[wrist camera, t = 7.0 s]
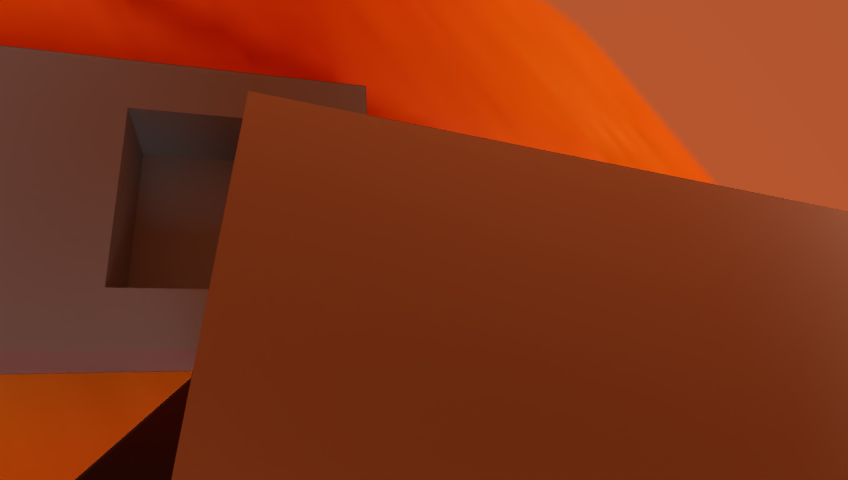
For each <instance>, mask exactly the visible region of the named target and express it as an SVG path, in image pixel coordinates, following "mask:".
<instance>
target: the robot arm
mask: <svg viewBox="0 0 848 480" xmlns="http://www.w3.org/2000/svg"><path fill="white" fill-rule="evenodd" d="M190 383H191V378H190V379H189V380H188V381H187V382H186V383H185V384H184V385H183V386H181V387H180V388H179V389H178V390H177V391H176V392H175V393H173V394H172V395H171V396H170V397H169V398H168V399H167V400H165V401H164V402H163V403H162V404H161V405H160V406H159V407H157V408H156V409H155V410H154V411H153V412H152V413H151V414H149V415H148V416H147V417H146V418H145V419H144V420H143V421H141V422H140V423H139V424H138V425H137V426H136V427H135V428H134V429H132V430H131V431H130V432H129V433H128V434H127V435H126V436H124V437H123V438H122V439H121V440H120V441H119V442H118V443H116V444H115V445H114V446H113V447H112V448H111V449H110V450H108V451H107V452H106V453H105V454H104V455H103V456H102V457H100V458H99V459H98V460H97V461H96V462H95V463H94V464H92V465H91V466H90V467H89V468H88V469H87V470H86V471H85V472H83V473H82V474H81V475H80V476H79V477H78V478H77V479H75V480H171V479H172V473H173V468H174V463H175V458H176V453H177V448H178V443H179V438H180V433H181V428H182V423H183V418H184V413H185V408H186V403H187V398H188V393H189V388H190Z"/></svg>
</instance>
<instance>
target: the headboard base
mask: <svg viewBox="0 0 848 480" xmlns="http://www.w3.org/2000/svg"><path fill="white" fill-rule="evenodd" d="M248 91H251V92H256V93H261V94H266V95H271V96H276V97H281V98H286V99H291V100H296V101H301V102H306V103H311V104H316V105H321V106H326V107H331V108H336V109H341V110H346V111H351V112H356V113H361V114H366V115H367V107H366V86H360V85H351V84H342V83H333V82H324V81H315V80H307V79H298V78H289V77H280V76H271V75H262V74H253V73H244V72H235V71H226V70H217V69H208V68H199V67H190V66H181V65H172V64H163V63H154V62H145V61H136V60H127V59H118V58H109V57H100V56H91V55H82V54H73V53H65V52H56V51H47V50H38V49H29V48H20V47H11V46H2V45H0V374H35V373H94V372H153V371H193V367H194V362H195V357H196V352H197V347H198V342H199V337H200V332H201V327H202V322H203V317H204V312H205V307H206V302H207V297H208V292H209V286H210V281H211V276H212V271H213V266H214V261H215V256H216V251H217V246H218V241H219V236H220V231H221V226H222V221H223V216H224V211H225V206H226V201H227V196H228V190H229V185H230V180H231V175H232V170H233V165H234V160H235V155H236V150H237V145H238V140H239V135H240V130H241V125H242V120H243V115H244V110H245V105H246V99H247V94H248Z"/></svg>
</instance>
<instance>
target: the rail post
mask: <svg viewBox="0 0 848 480" xmlns="http://www.w3.org/2000/svg"><path fill="white" fill-rule="evenodd" d="M171 480H848V211H843V210H838V209H833V208H829V207H823V206H818V205H814V204H809V203H804V202H799V201H794V200H789V199H784V198H779V197H774V196H768V195H764V194H759V193H754V192H749V191H744V190H739V189H734V188H729V187H724V186H719V185H714V184H709V183H704V182H699V181H694V180H689V179H684V178H679V177H674V176H669V175H664V174H659V173H654V172H649V171H644V170H639V169H635V168H630V167H625V166H620V165H615V164H610V163H605V162H600V161H595V160H590V159H585V158H580V157H575V156H570V155H565V154H560V153H555V152H550V151H545V150H540V149H535V148H530V147H525V146H520V145H515V144H510V143H505V142H500V141H495V140H490V139H485V138H480V137H475V136H470V135H465V134H460V133H455V132H450V131H445V130H440V129H436V128H431V127H426V126H421V125H416V124H411V123H406V122H401V121H396V120H391V119H386V118H381V117H376V116H371V115H366V114H361V113H356V112H351V111H346V110H341V109H336V108H331V107H326V106H321V105H316V104H311V103H306V102H301V101H296V100H291V99H286V98H281V97H276V96H271V95H266V94H261V93H256V92H251V91H248V94H247V99H246V105H245V110H244V115H243V120H242V125H241V130H240V135H239V140H238V145H237V150H236V155H235V160H234V165H233V170H232V175H231V180H230V185H229V190H228V196H227V201H226V206H225V211H224V216H223V221H222V226H221V231H220V236H219V241H218V246H217V251H216V256H215V261H214V266H213V271H212V276H211V281H210V286H209V292H208V297H207V302H206V307H205V312H204V317H203V322H202V327H201V332H200V337H199V342H198V347H197V352H196V357H195V362H194V367H193V372H192V377H191V383H190V388H189V393H188V398H187V403H186V408H185V413H184V418H183V423H182V428H181V433H180V438H179V443H178V448H177V453H176V458H175V463H174V468H173V473H172V479H171Z"/></svg>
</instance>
